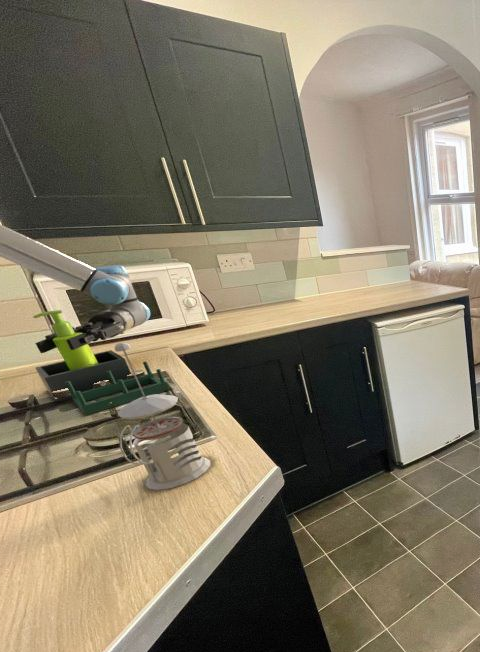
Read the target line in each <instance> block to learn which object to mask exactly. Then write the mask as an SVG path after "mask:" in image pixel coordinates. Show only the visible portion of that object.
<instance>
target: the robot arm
mask: <svg viewBox="0 0 480 652" xmlns="http://www.w3.org/2000/svg"><path fill="white" fill-rule="evenodd" d="M0 258H3V259H5V260H7V261H10V262H11V263H14V264H16V265H19V266H20V267H24V268H26V269H28V270H31V271H33V272H35V273H37V274H40V275H42V276H44V277H47V278H49V279H52V280H54V281H56V282H58V283H61V284H63V285H66V286H68V287H70V288H72V289H75V290H77V291H80V292H82V293H84V294H85V295H89V296H91V297H93V299H94V300H96V302H98V303H100V304H102V305H106V306H108V307H109V309H108V308H107V309H105V310H102V311H101V312H98V313H95V314H93V315H91V316H90V317H89V318H88V321H87V322H86V323H83V324H82V325H78V326H75V327H74V326H72V328H73V330H74V332H75V333H82V334H80V335H77V336H75V337H72V338H70V339H68V340H66V341H67V343H68V345H69V347H70V349H71V350H75V349H77V348H79V347H81V346H84V345H86V344H88V345H89V344H91V343H92V342H97V341H98V340H101V341H105V340H107V339H112V338H115V337H117V336H119V335H124V334H125V332H127V331H129V330H131V329H133V328H136V327H138V326H141V325H143V324H144V323H146V322H147V321H148V320H149V319H150V317H151V310H150V308H149V307H148V306H147V305H146V304H145V303H144V302H141V301H140V300H139V299H138V297H137V294H136V291H135V288H134V286H133V283H132V281H131V279H130V275H129V274H128V272H127V270H126V268H125V267H124V265H119V264H118V265H105V266H98V267H93V266H90V265H89V264H86V263H84V262H82V261H80V260H77V259H76V258H73V257H72V256H69V255H68V254H65V253H63V252H60V251H59V250H57V249H54V248H52V247H50V246H47V245H45V244H43V243H42V242H39V241H37V240H35V239H33V238H30V237H28V236H26V235H24V234H22V233H20V232H18V231H15V230H13V229H12V228H9V227H7V226H4V225H3V224H0ZM56 337H58V336H57V334H56V332H53V333H50V334H47V335H45V336H44V338H45V339H42V340H39V341H38V342H35V345H36V347H37V349H38V351H39V353H40V354H45V353H48V352H50V351H52V350H54V349H58V348H57V347H56V345H55V343H54V341H53V340H52V339H54V338H56Z"/></svg>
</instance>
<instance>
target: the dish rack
mask: <svg viewBox="0 0 480 652" xmlns="http://www.w3.org/2000/svg"><path fill="white" fill-rule="evenodd" d="M142 364H143V366H144V369H145V371H146V373H147V374H142V375H138V376H139V377H138V376H136V377H137V379H138V381H139V383H140V386H141V388H142V390H143V392H144V394H145V396H149V395H155V394H161V393H165V392H167V391H170V390H171V389H170V386H169V383H168V381H166V379H165V377H164V374H163V372H162V370H161V368H157V369H155V371H156V373H157V376H158V377H157V376H155V373H153V372H152V370H151V367H150V365H149V363H148V361H142ZM106 373H107V375H108V377H109V379H110V382H111V384H109V385H105V386H102V387H98V388H94V389H91V390H87V391H83V392H80V391H76V392H75V390H74V388H73V386H72V384H71V382H70V381H67V382H65V383H66V385H67V387H68V389H69V391H70V393H71V397H72V399H71V400H72V401H73V402H74V404H75V405H76V406H77V407H78V409H80V411H82V413H83V414H84V415H85V416H89V415H93V414H96V413H99V412H102V411H106V410H108V409H109V410H110V409H112V408H116V407H118V406H122V405H125V404H129V403H130V402H132V401H134V400H136V399H139V398H141V397H144V396H143V394H142V392H141V389H140V387H139V385H138V383H137V381H136V378H135V377H133V378H131V379H127V380H124V381H123V380H122V379H120V380H118V382H115V380H114V378H113V375H112V373H111V371H106ZM148 384H150V385H148ZM144 385H147V386H144ZM142 386H143V387H142ZM134 388H136V389H134ZM131 389H133V390H131ZM120 392H122V393H120ZM117 393H119V394H117ZM113 394H116V395H113ZM111 395H112V396H111ZM107 396H108V397H107ZM103 397H105V398H103ZM100 398H102V399H100ZM96 399H97V400H96ZM93 400H95V401H93ZM90 401H92V402H90ZM87 402H89V403H87ZM109 402H112V404H109ZM108 404H109V405H108Z"/></svg>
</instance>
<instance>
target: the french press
mask: <svg viewBox="0 0 480 652" xmlns="http://www.w3.org/2000/svg"><path fill="white" fill-rule="evenodd" d="M131 349H132V347H131V345H130V343H128V342H125V341H124V342H118V343H116V344H115V346H114V352H115V353H117V352H123V355H124V356H125V358H126V359H125V360H126V362H127V364H128V366H129V368H130V369H131V370H130V371H132V372H131V373H132V375H133V377H134V378H136V381H137V383H138V385H139V386H138V388H140V389H141V392H142V394H143V396H144V397H141V398H139V399H136V400H134V401H132V402H129V403H126V405H124V406H123V407H122V408H121V409H120V410H119V411H118V413H117V416H119V418H121V419H123V420H139V419H144V418H147V417H152V418H153V421H149V422H146V423H144V424H142V425H140V424H136V425H134V426H133V428H131V426H130V425H125V426H124V427H123V429H122V430H121V432H120V435H119V449H120V452H121V454H122V455H123V458H125V459H126V461H128V462H129V463H131V464H133V465H138V466H139V465H143V466H144V468H145V471H146V472H147V474H148V477H147V479H146V481H145V485H144V486H145V487H146V488H147V489H149V490H154V491H161V490H168V489H172V488H176V487H179V486H183V485H185V484H187V483H189V482H191V481H193V480H196V479H198V478H199V477H200V476H202V475H203V474H205V473H206V472H207V471H208V469H209V468H210V467H211V460H209V459H208V458H206V457H203V456H201V452H200V450H199V447H198V446H197V445H196V441H195V439H194V435H193V433H192V431H191V429H190V426H189V425H188V424H186V423H184V418H182V417H181V416H169V417H164V418H160V419H159V418H158V419H156V417H155V415H157V414H160V413H164V412H165V411H167V410H169V409H171V408H173V407H174V406H175V405H177V403H178V400H179V398H178V397H177V396H175V395H172V394H171V395H170V394H160V393H158V394H155V395H149V396H145V394H144V392H143V390H142V388H143V387H142V386H140V383H139V381H138V379H137V377H138V376H137V375H136V372H135V370H134V368H133V366H132V363H131V361H130V359H129V357H128V354H127V352H126V351H128V350H129V351H130V350H131ZM127 428H128V429H129V431H131V432H130V435H129V442H128V443H129V450H130V452H131V453H132V456H133V457H134V458H135V459H136V460H137V461H138V462H135V461H132V460H131V459H130V458H128V456H127V454H126V453H125V451H124V448H123V442H122V441H123V440H122V439H123V434H124V432H125V430H126V429H127ZM169 436H170V438H168V439H166V440H161V441H157V442H149V443H147V442H146V441H154V440H160V439H164V438H166V437H169ZM133 438H134V440H133V441H132V439H133ZM144 441H145V442H146V443H144V444H141V445H139V444H140V443H141V442H144ZM133 445H134V448H135V450H136V452H137V454H138V455H136V453H135V450H134V449H133ZM144 449H147V450H144ZM172 449H173V450H172ZM170 450H172V451H170ZM169 451H170V452H169ZM148 454H149V456H147V455H148ZM176 454H178V455H176ZM174 455H176V456H174ZM138 456H139V457H138ZM173 456H174V457H173ZM151 460H152V461H151ZM150 461H151V462H150Z"/></svg>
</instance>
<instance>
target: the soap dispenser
mask: <svg viewBox="0 0 480 652" xmlns="http://www.w3.org/2000/svg"><path fill="white" fill-rule="evenodd" d="M62 314H63V310H62V309H56V310H49V311H48V310H47V311H44V312H39V313H37V314H35V315H33V316H32V317H33V318H34V319H38V318H41V317H45V316H51V318H52V320H53V321H54V323H53V324H51V327H52V328H53V330H54V333H56V334H57V336H58V337H56V338H54V339H52V340H53V341H54V343H55V345H56V347H57V348H56V349H57V350H58V351H59V354H60V355H61V357H62V359H63V361H65V362H66V364H67V366H68V368H69V369H70V371H71V370H75V369H79V368H83V367H88V366H92V365H96V364H99V363H98V362H97V360H96V358H95V356H94V354H95V353H94V352H93V351H92V349H91V347H90V344H89V343H88V344H86V345H84V346H81V347H79V348H77V349H75V350H71V349H70V347H69V345H68V343H67V341H66V340H68V339H70V338H72V337H75V336H77V335H80V334H82V333H75V332H74V330H73V328H72V327H73V326H72V324H71V323H70V322H69V321H66V320H64V318H63V317H62Z"/></svg>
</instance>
